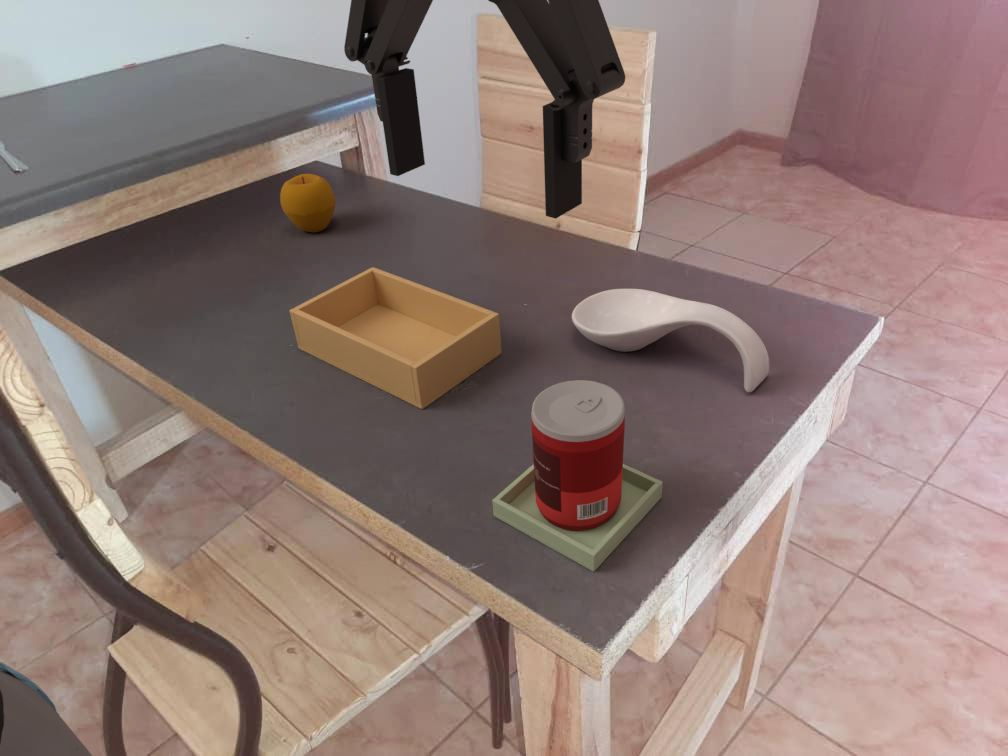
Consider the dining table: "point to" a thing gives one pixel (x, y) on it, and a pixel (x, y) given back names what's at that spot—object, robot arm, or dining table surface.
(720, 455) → the dining table surface
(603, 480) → the canned food
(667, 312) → the spoon rest
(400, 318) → the open wooden box
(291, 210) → the apple
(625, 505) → the tray
